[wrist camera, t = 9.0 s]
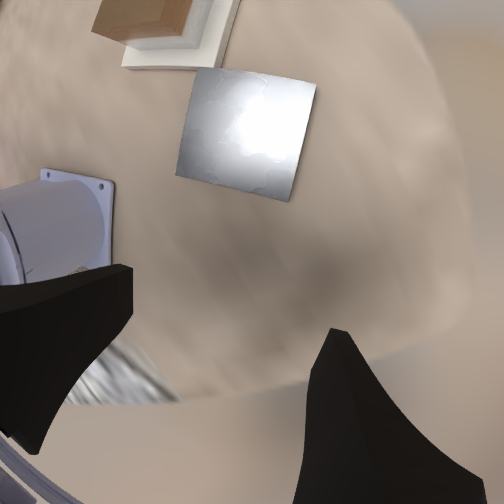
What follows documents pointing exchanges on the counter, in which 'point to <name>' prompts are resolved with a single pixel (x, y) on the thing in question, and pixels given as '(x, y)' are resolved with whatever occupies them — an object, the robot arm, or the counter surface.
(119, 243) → the counter surface
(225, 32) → the stand
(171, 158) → the counter surface
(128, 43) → the block
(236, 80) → the stand
